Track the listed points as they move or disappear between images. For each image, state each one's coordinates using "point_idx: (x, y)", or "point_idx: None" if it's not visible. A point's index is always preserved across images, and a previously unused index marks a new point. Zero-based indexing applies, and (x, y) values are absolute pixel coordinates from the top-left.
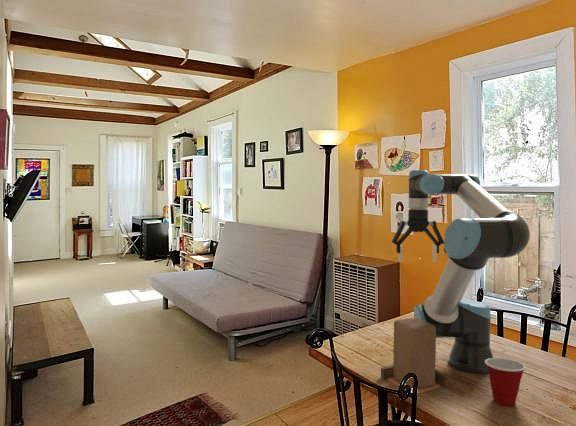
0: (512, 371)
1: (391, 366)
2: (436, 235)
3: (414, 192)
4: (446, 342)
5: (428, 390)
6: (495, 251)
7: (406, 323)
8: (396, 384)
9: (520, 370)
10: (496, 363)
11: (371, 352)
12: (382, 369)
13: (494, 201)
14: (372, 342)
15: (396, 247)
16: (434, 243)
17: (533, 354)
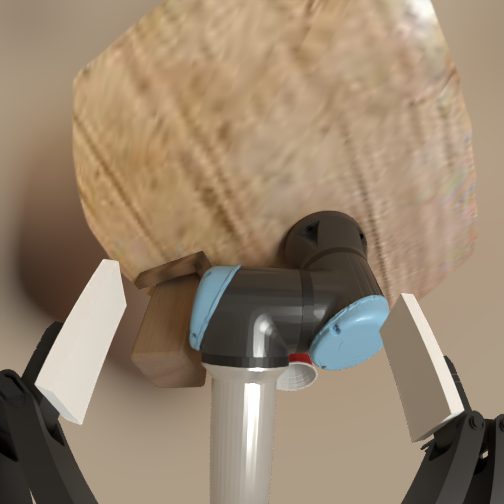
0: (285, 388)
1: (152, 282)
2: (474, 501)
3: None
4: (348, 130)
5: None
6: None
7: (151, 374)
8: None
9: (296, 389)
10: (295, 359)
11: (135, 171)
12: (137, 286)
13: None
14: (149, 109)
15: (29, 362)
16: (460, 427)
17: (455, 224)
